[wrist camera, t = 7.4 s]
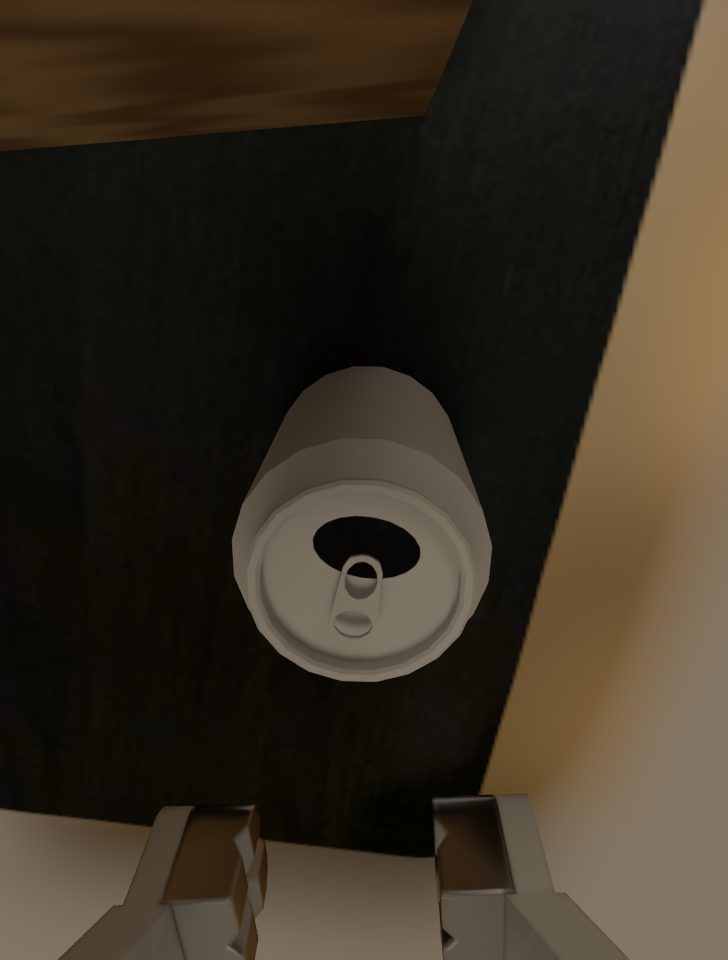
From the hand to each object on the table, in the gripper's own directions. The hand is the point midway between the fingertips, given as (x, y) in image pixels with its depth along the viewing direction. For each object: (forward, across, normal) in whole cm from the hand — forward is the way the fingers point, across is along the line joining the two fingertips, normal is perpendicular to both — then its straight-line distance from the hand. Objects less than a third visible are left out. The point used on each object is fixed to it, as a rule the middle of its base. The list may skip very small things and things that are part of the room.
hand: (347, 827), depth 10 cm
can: (+19, 0, 0) cm, 19 cm away
